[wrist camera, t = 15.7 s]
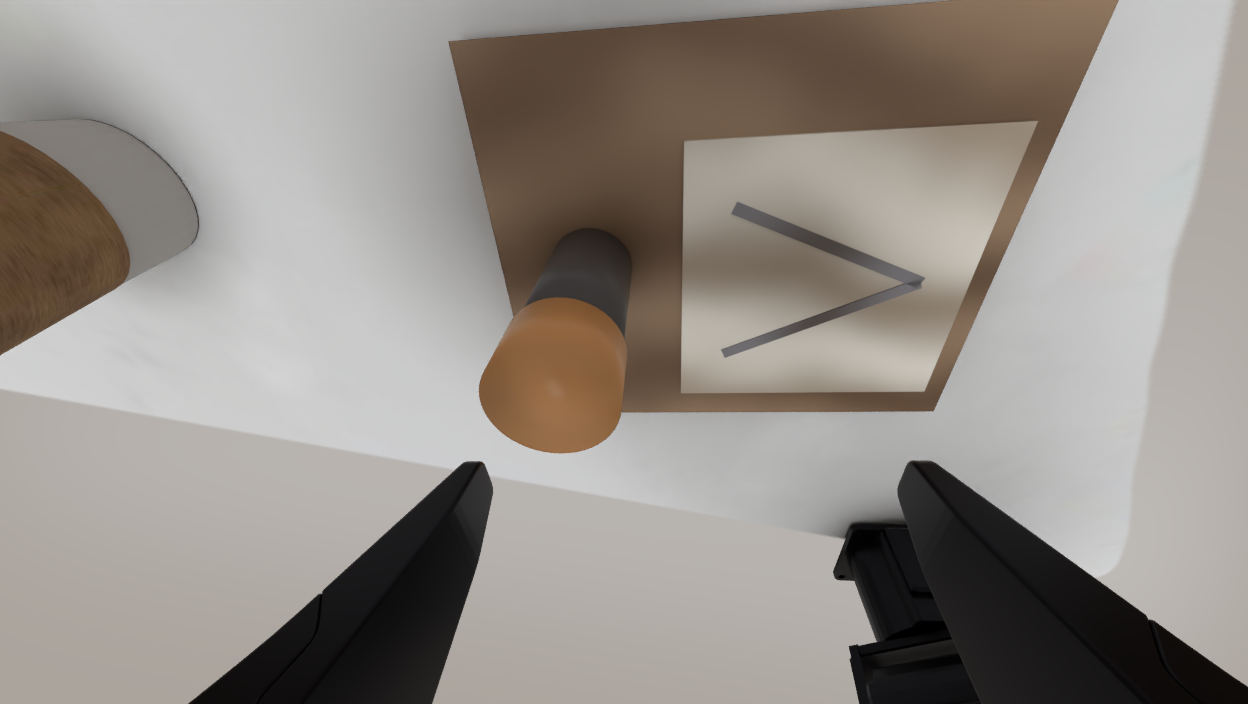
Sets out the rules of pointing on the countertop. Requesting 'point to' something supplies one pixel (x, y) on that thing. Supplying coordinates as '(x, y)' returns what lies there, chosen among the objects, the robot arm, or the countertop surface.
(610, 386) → the black and orange cylinder
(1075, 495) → the countertop surface
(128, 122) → the countertop surface
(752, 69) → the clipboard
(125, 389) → the countertop surface
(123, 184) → the coffee cup
